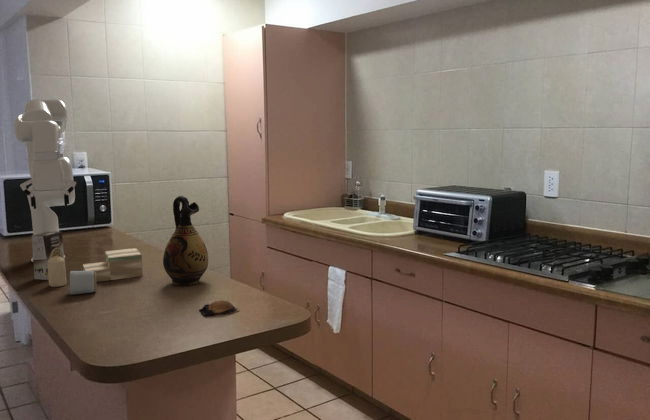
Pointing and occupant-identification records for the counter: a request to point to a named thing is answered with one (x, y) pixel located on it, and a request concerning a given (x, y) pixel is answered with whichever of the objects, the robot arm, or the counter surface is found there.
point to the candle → (56, 271)
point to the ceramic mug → (82, 282)
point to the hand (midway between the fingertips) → (50, 207)
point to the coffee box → (45, 251)
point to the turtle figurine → (218, 309)
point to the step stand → (117, 265)
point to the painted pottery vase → (185, 247)
